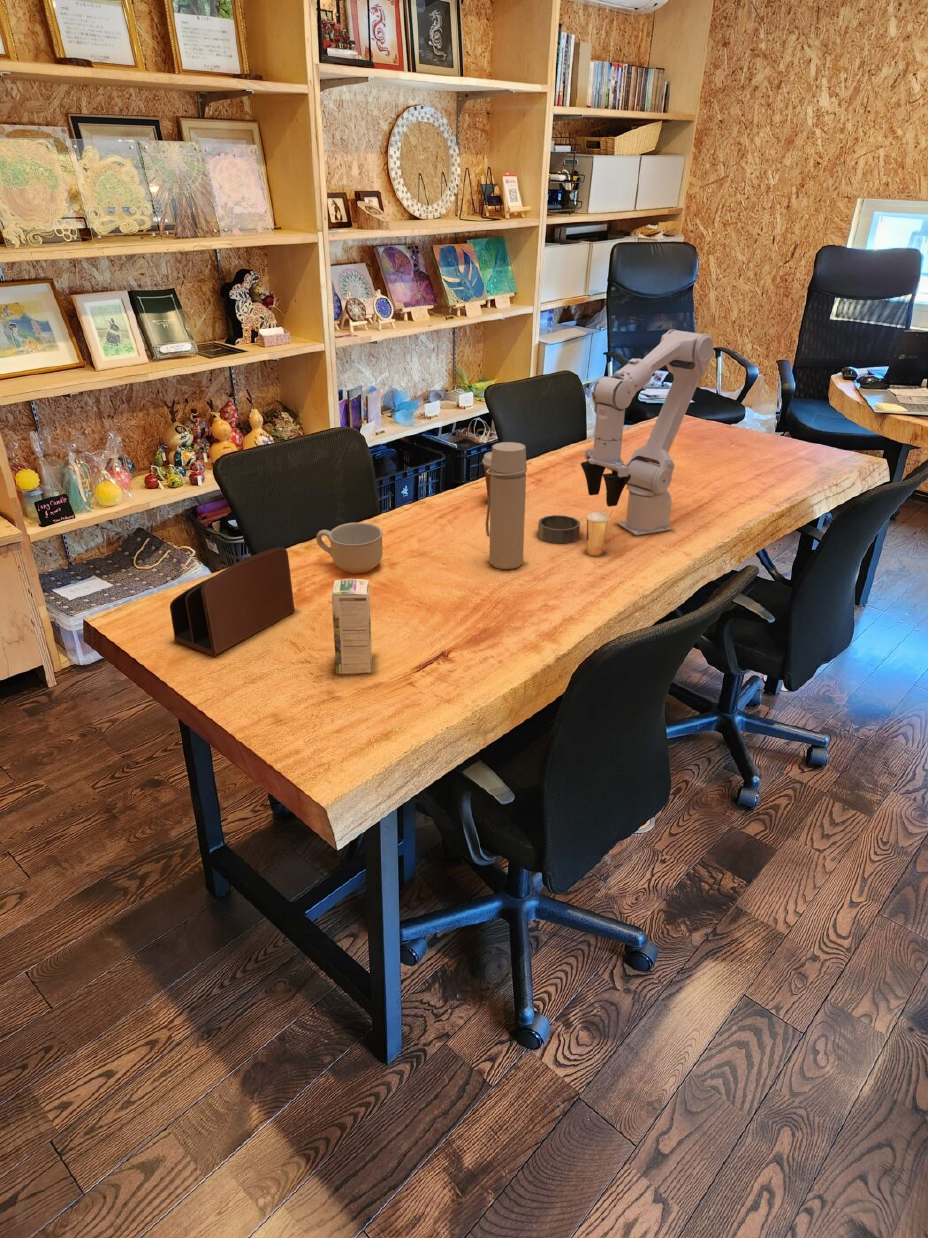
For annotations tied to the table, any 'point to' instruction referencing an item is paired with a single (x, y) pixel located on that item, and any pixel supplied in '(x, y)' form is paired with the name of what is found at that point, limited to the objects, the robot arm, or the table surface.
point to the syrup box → (352, 626)
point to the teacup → (354, 546)
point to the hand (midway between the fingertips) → (602, 499)
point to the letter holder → (234, 603)
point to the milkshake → (596, 532)
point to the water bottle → (507, 504)
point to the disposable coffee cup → (487, 464)
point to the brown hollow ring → (558, 529)
